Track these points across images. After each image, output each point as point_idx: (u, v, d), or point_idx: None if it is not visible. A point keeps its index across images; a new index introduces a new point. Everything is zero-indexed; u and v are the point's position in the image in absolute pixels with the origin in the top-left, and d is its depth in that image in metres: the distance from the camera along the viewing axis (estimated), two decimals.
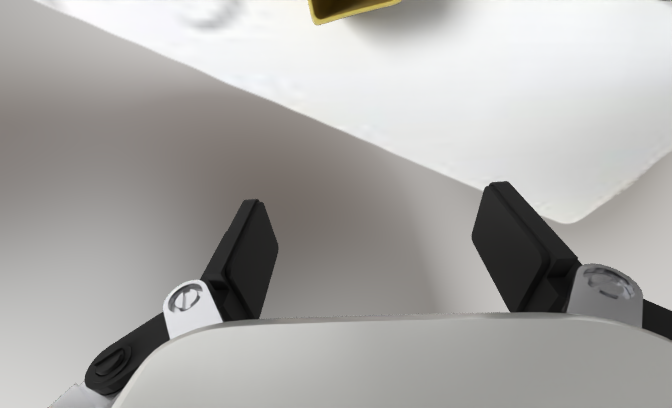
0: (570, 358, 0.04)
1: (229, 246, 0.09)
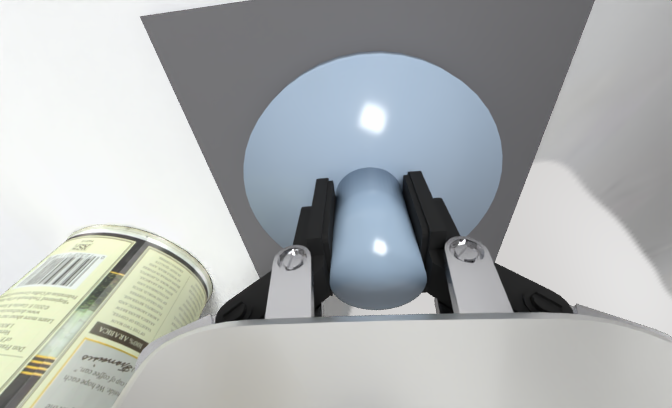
0: (570, 358, 0.04)
1: (319, 216, 0.09)
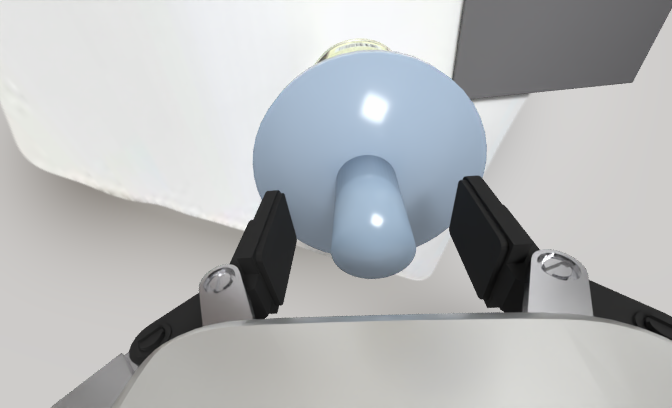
0: (570, 358, 0.04)
1: (257, 233, 0.09)
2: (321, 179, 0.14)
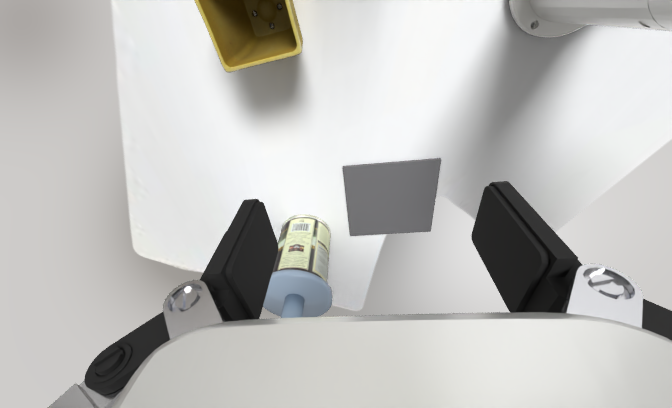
0: (570, 358, 0.04)
1: (229, 246, 0.09)
2: (280, 298, 0.42)
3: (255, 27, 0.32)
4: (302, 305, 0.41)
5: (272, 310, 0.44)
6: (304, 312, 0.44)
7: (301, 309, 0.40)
